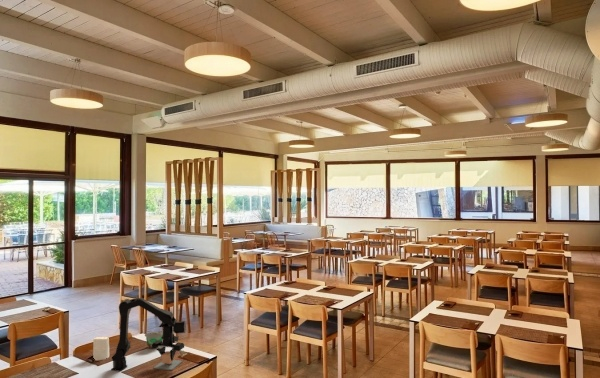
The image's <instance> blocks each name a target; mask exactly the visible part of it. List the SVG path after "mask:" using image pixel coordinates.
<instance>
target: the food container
mask: <svg viewBox="0 0 600 378" xmlns="http://www.w3.org/2000/svg"><path fill="white" fill-rule="evenodd" d="M144 336H145V340H146V347H147V348H148V349H150V350H154V349H153V348H152V344H153V343H154V342H156V341H162V342H163V339H161V337H162V336H163V330H162V331H152V332H149V333H147V332H145V334H144Z"/></svg>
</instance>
